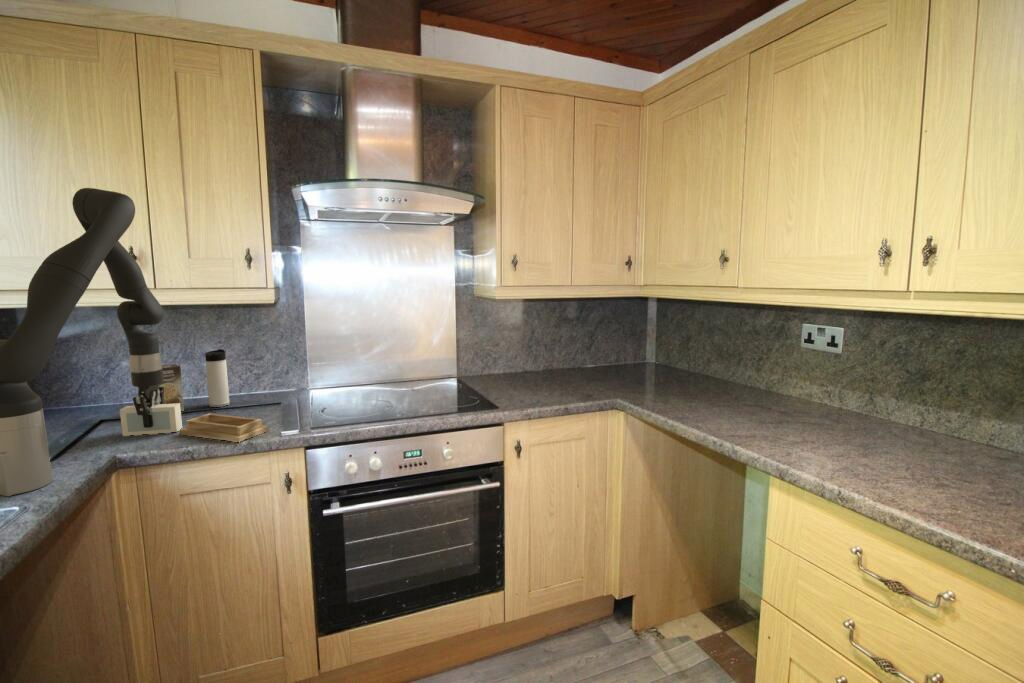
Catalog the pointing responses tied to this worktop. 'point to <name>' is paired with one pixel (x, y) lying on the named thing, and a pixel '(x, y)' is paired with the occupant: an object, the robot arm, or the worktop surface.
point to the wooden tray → (224, 427)
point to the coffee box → (172, 385)
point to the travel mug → (217, 378)
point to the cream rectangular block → (163, 420)
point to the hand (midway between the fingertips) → (152, 424)
